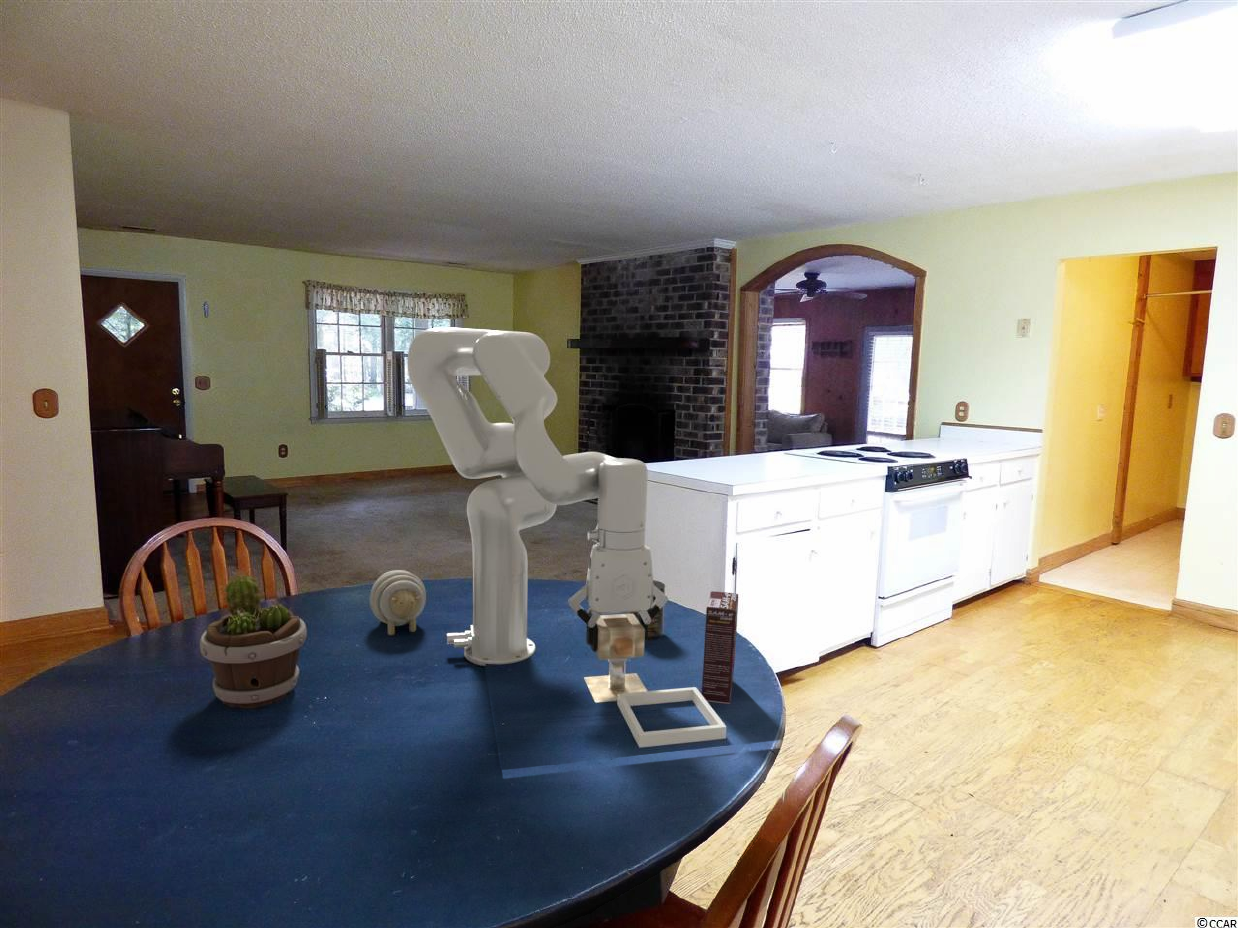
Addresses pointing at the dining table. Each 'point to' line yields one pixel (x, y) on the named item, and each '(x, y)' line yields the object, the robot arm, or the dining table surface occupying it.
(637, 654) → the collar
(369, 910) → the dining table surface
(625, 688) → the square lid with knob
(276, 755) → the dining table surface
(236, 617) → the flowerpot
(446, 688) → the dining table surface
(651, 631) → the supplement container
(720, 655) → the supplement box
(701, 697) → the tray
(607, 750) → the dining table surface
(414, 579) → the toy sheep
